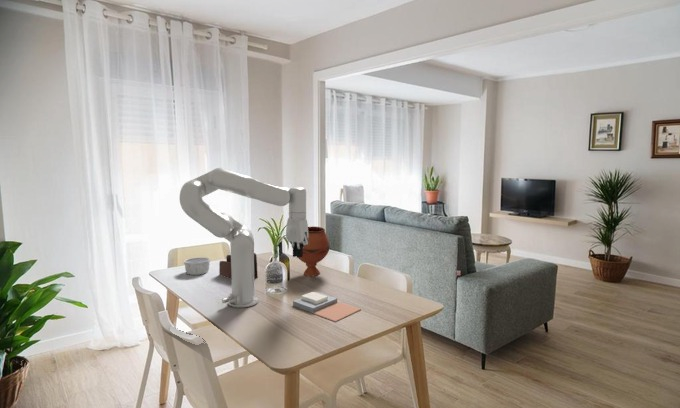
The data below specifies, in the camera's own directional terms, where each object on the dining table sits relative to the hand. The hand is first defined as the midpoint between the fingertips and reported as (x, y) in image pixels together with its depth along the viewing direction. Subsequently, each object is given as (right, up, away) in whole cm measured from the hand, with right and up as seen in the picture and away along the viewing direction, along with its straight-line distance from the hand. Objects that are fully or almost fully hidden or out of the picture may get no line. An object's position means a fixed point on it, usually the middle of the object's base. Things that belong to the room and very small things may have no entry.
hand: (297, 256), depth 171 cm
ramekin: (-59, -14, +40) cm, 73 cm away
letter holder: (-35, -15, +33) cm, 51 cm away
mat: (+18, -21, -13) cm, 30 cm away
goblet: (+3, -15, +39) cm, 42 cm away
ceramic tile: (+8, -17, -5) cm, 19 cm away
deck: (+8, -20, -5) cm, 22 cm away
